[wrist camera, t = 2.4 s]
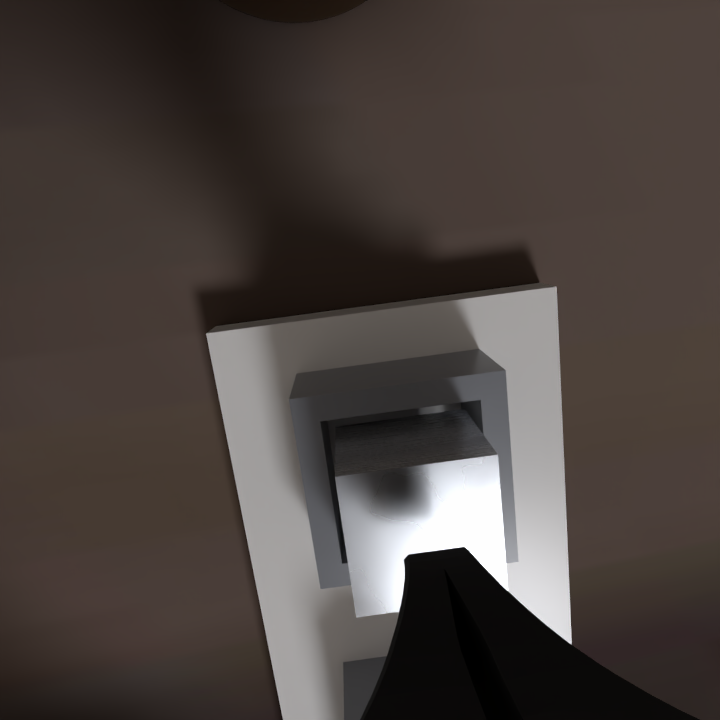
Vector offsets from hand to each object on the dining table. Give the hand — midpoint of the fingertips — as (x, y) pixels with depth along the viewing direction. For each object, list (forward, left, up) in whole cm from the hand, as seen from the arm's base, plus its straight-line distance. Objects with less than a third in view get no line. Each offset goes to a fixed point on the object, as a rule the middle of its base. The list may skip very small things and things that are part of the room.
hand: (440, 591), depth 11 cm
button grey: (0, 0, -6) cm, 6 cm away
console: (-6, 0, -10) cm, 11 cm away
